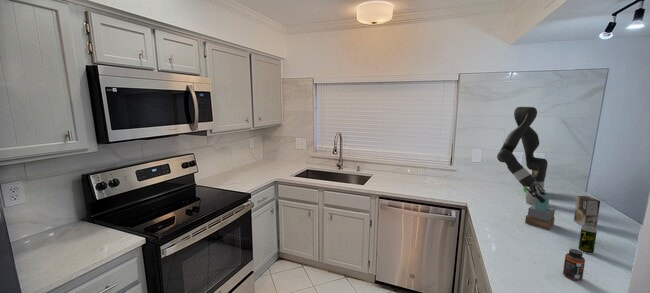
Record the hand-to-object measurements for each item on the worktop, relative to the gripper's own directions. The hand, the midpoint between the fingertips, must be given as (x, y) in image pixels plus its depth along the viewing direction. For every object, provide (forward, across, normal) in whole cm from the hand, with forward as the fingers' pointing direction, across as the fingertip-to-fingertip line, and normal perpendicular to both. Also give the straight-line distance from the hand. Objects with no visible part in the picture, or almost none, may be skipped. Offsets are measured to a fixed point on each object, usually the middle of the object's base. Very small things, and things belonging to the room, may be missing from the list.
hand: (545, 200), depth 156 cm
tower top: (+6, +1, +8) cm, 10 cm away
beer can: (+26, -19, -4) cm, 33 cm away
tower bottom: (+10, 0, +12) cm, 15 cm away
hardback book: (-6, +64, +27) cm, 70 cm away
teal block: (+3, 0, +5) cm, 6 cm away
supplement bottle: (+27, -50, -5) cm, 57 cm away
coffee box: (+21, +21, 0) cm, 30 cm away
